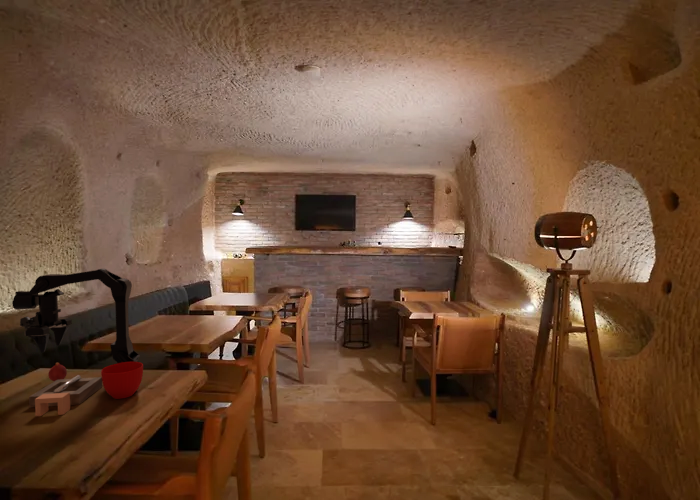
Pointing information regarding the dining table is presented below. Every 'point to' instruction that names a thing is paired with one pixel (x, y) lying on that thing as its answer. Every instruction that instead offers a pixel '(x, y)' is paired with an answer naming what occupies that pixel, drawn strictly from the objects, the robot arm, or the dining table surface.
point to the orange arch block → (44, 399)
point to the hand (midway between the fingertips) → (50, 348)
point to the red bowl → (122, 379)
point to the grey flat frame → (70, 390)
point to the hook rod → (67, 384)
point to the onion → (57, 372)
